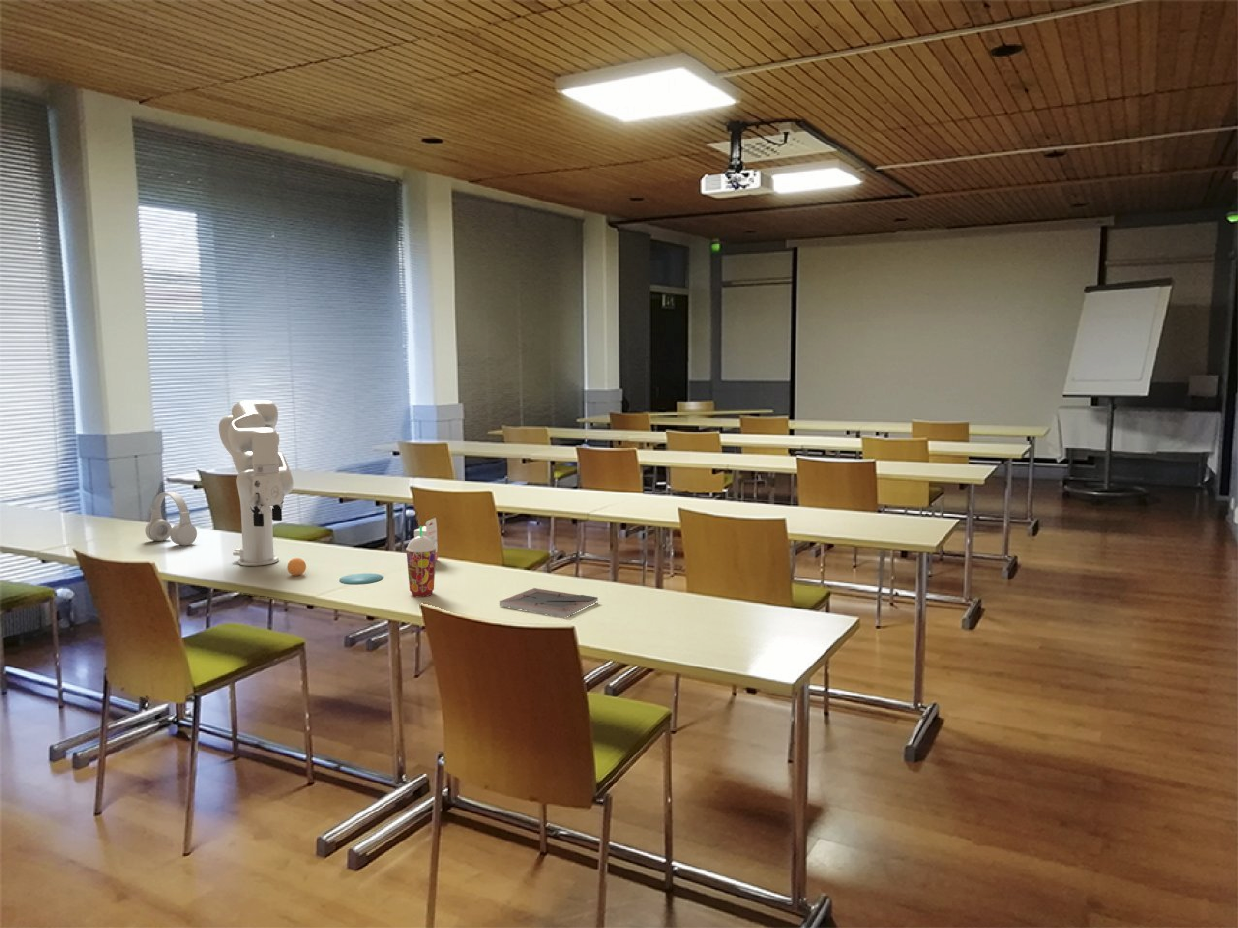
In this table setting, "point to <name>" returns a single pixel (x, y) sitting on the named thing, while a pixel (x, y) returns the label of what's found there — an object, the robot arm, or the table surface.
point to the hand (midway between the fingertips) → (268, 523)
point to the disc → (361, 578)
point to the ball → (296, 566)
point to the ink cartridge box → (429, 533)
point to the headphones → (162, 529)
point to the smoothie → (421, 565)
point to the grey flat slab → (549, 602)
